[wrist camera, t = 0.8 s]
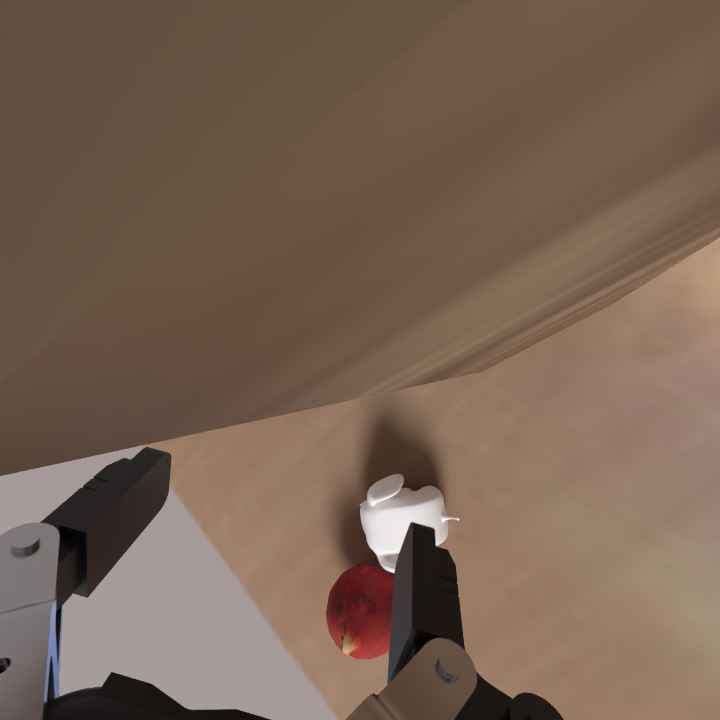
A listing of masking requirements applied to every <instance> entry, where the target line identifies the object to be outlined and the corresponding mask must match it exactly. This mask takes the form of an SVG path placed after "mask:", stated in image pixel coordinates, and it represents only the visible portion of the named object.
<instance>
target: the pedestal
mask: <svg viewBox="0 0 720 720" xmlns="http://www.w3.org/2000/svg"><path fill="white" fill-rule="evenodd" d="M719 237H720V0H0V476H2V475H7V474H11V473H16V472H20V471H25V470H30V469H35V468H39V467H44V466H49V465H53V464H58V463H62V462H67V461H72V460H76V459H81V458H86V457H90V456H95V455H99V454H104V453H109V452H113V451H118V450H122V449H127V448H132V447H136V446H141V445H146V444H150V443H155V442H159V441H164V440H169V439H173V438H178V437H182V436H187V435H192V434H196V433H201V432H206V431H210V430H215V429H219V428H224V427H229V426H233V425H238V424H242V423H247V422H252V421H256V420H261V419H265V418H270V417H275V416H279V415H284V414H289V413H293V412H298V411H302V410H307V409H312V408H316V407H321V406H325V405H330V404H335V403H339V402H344V401H349V400H353V399H358V398H362V397H367V396H372V395H376V394H381V393H385V392H390V391H395V390H399V389H404V388H409V387H413V386H418V385H422V384H427V383H432V382H436V381H441V380H445V379H450V378H455V377H459V376H464V375H469V374H473V373H478V372H482V371H484V370H486V369H488V368H489V367H491V366H493V365H495V364H497V363H499V362H501V361H503V360H505V359H507V358H509V357H511V356H513V355H514V354H516V353H518V352H520V351H522V350H524V349H526V348H528V347H530V346H532V345H534V344H536V343H538V342H540V341H541V340H543V339H545V338H547V337H549V336H551V335H553V334H555V333H557V332H559V331H561V330H563V329H565V328H566V327H568V326H570V325H572V324H574V323H576V322H578V321H580V320H582V319H584V318H586V317H588V316H590V315H591V314H593V313H595V312H597V311H599V310H601V309H603V308H605V307H607V306H609V305H611V304H613V303H615V302H616V301H618V300H619V299H621V298H623V297H624V296H626V295H627V294H629V293H631V292H632V291H634V290H636V289H637V288H639V287H640V286H642V285H644V284H645V283H647V282H648V281H650V280H652V279H653V278H655V277H656V276H658V275H660V274H661V273H663V272H665V271H666V270H668V269H669V268H671V267H673V266H674V265H676V264H677V263H679V262H681V261H682V260H684V259H685V258H687V257H689V256H690V255H692V254H693V253H695V252H697V251H698V250H700V249H702V248H703V247H705V246H706V245H708V244H710V243H711V242H713V241H714V240H716V239H718V238H719Z"/></svg>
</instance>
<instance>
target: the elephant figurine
mask: <svg viewBox="0 0 720 720" xmlns="http://www.w3.org/2000/svg"><path fill="white" fill-rule="evenodd" d="M403 482H404V477H403V475H401V474H394V475H391V476H388V477H386V478H384V479H382V480H380V481H378V482H376V483H375V484H373V485H372V486H371V487H370V488H369V490H368V493H367V500H366V501H364V502H363V503H361V504H360V505H359V506H361V505H362V506H361V508H360V516H361V522H362V526H363V530H364V532H365V534H366V539H367V543H368V545H369V547H370V548H371V549H372V550H373V551H374V552H375V554H376V555H377V558H378V560H379V563H380V564H381V566H382V567H383V568H384V569H385V570H387V571H389V572H392V573H394V572H395V567H396V562H397V558H398V555H399V552H400V550H401V547H402V544H403V541H404V539H405V536H406V533H407V530H408V528H409V525H410V523H411V522H414V523H418V524H421V525H425V526H428V527H432V528H434V529H435V540H436V546H437V545H439V544H441V543H442V542H443V541H444V540H445V539H446V538H447V535H448V521H447V520H449V519H456V520H459V517H457V518H454V517H449V516H447V515H446V512H445V506H444V499H443V495H442V493H441V492H440V490H439V489H437V488H436V487H434V486H425V487H422V488H421V489H419V490H418V491H413V490H411V489H410V488H402V489H401V487H402V485H403Z"/></svg>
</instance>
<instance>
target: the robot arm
mask: <svg viewBox="0 0 720 720" xmlns="http://www.w3.org/2000/svg"><path fill="white" fill-rule="evenodd" d="M170 468H171V454H170V453H167V452H163V451H160V450H156V449H153V448H149V447H146V448H144V449H142V450H141V451H140V452H139V453H138V454H137V455H136V456H135V457H134V458H132V459H131V460H130V459H126V458H123V459H121V460H119V461H116V462H114V463H112V464H110V465H107V466H106V467H105V468H104V469H103V470H102V471H100V472H99V473H98V474H97V475H95V476H94V478H93V479H91V480H90V481H88V482H87V483H86V484H85V485H84V486H83V488H80V489H79V490H78V491H77V492H75V493H74V494H73V495H72V496H71V497H70V498H69V499H67V500H66V501H65V502H64V503H63V504H61V505H60V506H59V507H58V508H57V509H56V510H54V511H53V512H52V513H51V514H50V515H49V516H47V517H46V518H45V519H44V520H43V521H42V522H40V523H30V524H24V525H21V526H18V527H15V528H13V529H11V530H9V531H7V532H5V533H4V534H2V535H1V536H0V720H270V719H267V718H264V717H260V716H257V715H253V714H250V713H247V712H243V711H240V710H237V709H227V710H226V709H225V710H189V709H186V708H184V707H183V706H182V705H180V704H179V703H177V702H176V701H175V700H173V699H172V698H170V697H169V696H168V695H166V694H165V693H163V692H162V691H161V690H159V689H158V688H157V687H155V686H154V685H152V684H150V683H146V682H143V681H140V680H136V679H133V678H130V677H126V676H123V675H120V674H116V673H113V672H111V674H110V675H109V677H108V678H107V680H106V681H105V683H104V684H103V686H102V687H94V688H87V689H82V690H78V691H74V692H71V693H68V694H65V695H63V696H60V697H59V672H60V671H59V670H60V655H61V638H62V621H63V604H64V603H65V602H66V601H67V600H68V598H69V597H70V596H71V595H72V594H73V593H74V594H77V595H80V596H84V597H89V595H90V594H91V593H92V591H94V589H95V588H96V587H97V586H98V584H99V583H100V582H101V581H102V580H103V578H104V577H105V576H106V575H107V574H108V572H109V571H110V570H111V569H112V568H113V566H114V565H115V564H116V563H117V562H118V560H119V559H120V558H121V557H122V556H123V554H124V553H125V552H126V551H127V550H128V548H129V547H130V546H131V545H132V544H133V542H134V541H135V540H136V539H137V537H138V536H139V535H140V534H141V533H142V532H143V530H144V529H145V528H146V527H147V526H148V524H149V523H150V522H151V520H153V518H154V517H155V516H156V515H157V513H158V512H159V511H160V510H161V508H162V507H163V505H164V503H165V501H166V499H167V496H168V492H169V481H170ZM458 594H459V593H458V584H457V574H456V565H455V563H454V561H453V559H452V557H451V556H450V554H449V552H448V550H446V549H443V548H439V547H436V540H435V529H434V528H432V527H428V526H425V525H421V524H418V523H414V522H411V523H410V525H409V528H408V530H407V533H406V536H405V539H404V541H403V544H402V547H401V550H400V552H399V555H398V558H397V562H396V567H395V572H394V584H393V600H392V617H391V634H390V651H389V667H388V684H387V686H386V687H385V688H384V689H383V690H382V691H381V692H380V693H379V694H378V695H375V694H371V695H370V696H368V697H367V698H366V699H365V700H364V701H363V702H362V703H361V704H360V705H359V706H358V707H357V708H356V709H355V710H354V711H353V713H352V714H351V715H350V716H349V717H348V718H347V719H346V720H564V719H563V718H562V717H561V715H560V714H559V713H558V711H557V710H556V709H555V708H554V707H553V706H552V705H551V704H550V703H549V702H547V701H546V700H545V699H543V698H541V697H540V696H538V695H535V694H532V693H521V694H518V695H517V696H516V697H514V699H512V698H511V697H509V696H507V695H506V694H504V693H503V692H501V691H500V690H498V689H497V688H495V687H494V686H492V685H491V684H489V683H488V682H487V681H485V680H484V679H483V678H482V677H481V676H480V675H479V674H478V673H477V672H476V669H475V666H474V664H473V662H472V660H471V658H470V657H469V655H468V654H467V653H466V651H465V647H464V639H463V630H462V621H461V611H460V602H459V597H458Z"/></svg>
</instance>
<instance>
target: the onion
mask: <svg viewBox="0 0 720 720" xmlns="http://www.w3.org/2000/svg"><path fill="white" fill-rule="evenodd" d="M393 584H394V577H393V576H392V575H391V574H390V573H389V572H388V571H386V570H384V569H382V568H380V567H378V566H372V565H362V564H359V565H357V566H355V567H353V568H350V569H348V570H347V571H345V572H344V573H342V574H341V576H340V577H339V579H338V580H337V581H336V583H335V584H334V586H333V587H332V589H331V591H330V593H329V599H328V605H327V611H326V618H327V623H328V629H329V633H330V635H331V637H332V638H333V640H334V642H335V644H336V645H337V646H338V647H339V648H340V649H341V652H342V654H343V655H344V656H347V655H349V656H352V657H354V658H356V659H373V658H375V657H378V656H380V655H383V654H385V653H386V652H388V651H389V650H390V634H391V617H392V600H393Z"/></svg>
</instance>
